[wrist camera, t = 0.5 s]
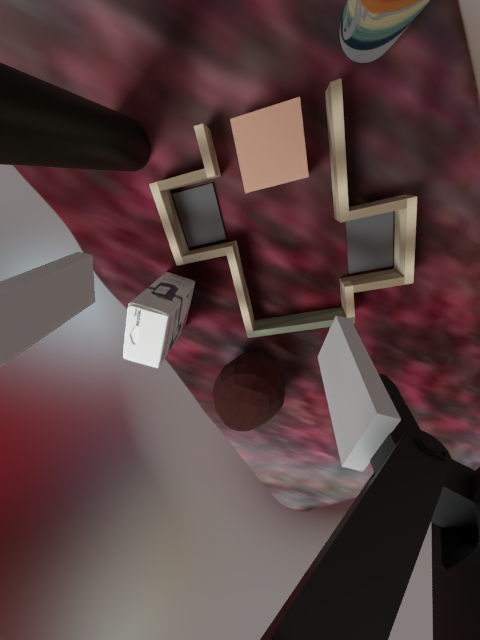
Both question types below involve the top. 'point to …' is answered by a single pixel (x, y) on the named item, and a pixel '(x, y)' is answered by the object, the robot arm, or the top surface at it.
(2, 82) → the wine bottle
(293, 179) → the block
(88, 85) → the top surface
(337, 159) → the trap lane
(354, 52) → the lotion bottle
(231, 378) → the potato
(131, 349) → the ink box
